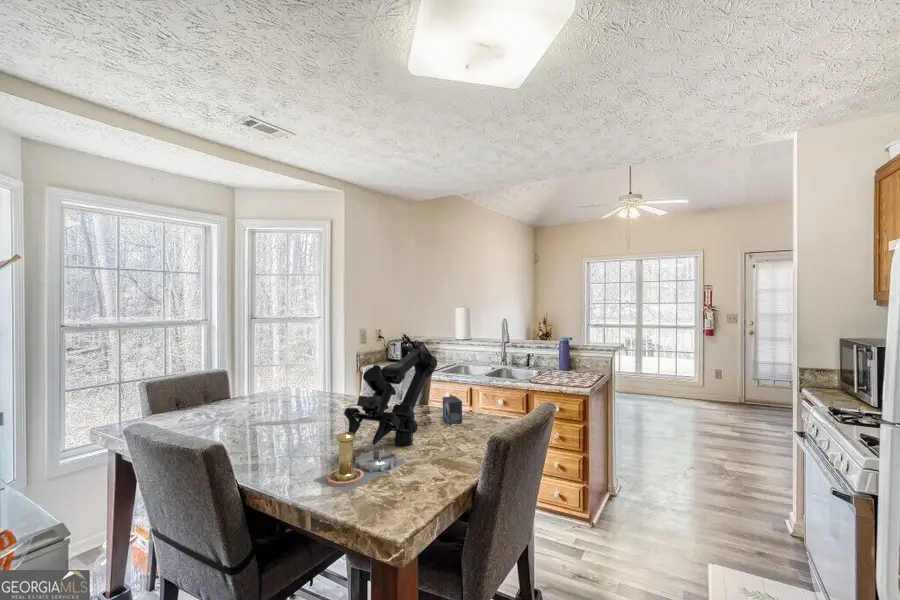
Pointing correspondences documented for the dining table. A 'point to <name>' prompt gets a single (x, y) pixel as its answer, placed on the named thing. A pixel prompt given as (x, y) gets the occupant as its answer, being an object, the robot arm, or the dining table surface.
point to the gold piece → (345, 458)
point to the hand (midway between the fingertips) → (360, 442)
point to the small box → (452, 410)
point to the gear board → (360, 480)
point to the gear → (376, 461)
